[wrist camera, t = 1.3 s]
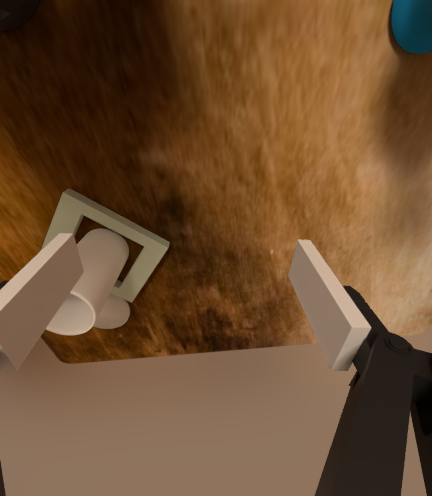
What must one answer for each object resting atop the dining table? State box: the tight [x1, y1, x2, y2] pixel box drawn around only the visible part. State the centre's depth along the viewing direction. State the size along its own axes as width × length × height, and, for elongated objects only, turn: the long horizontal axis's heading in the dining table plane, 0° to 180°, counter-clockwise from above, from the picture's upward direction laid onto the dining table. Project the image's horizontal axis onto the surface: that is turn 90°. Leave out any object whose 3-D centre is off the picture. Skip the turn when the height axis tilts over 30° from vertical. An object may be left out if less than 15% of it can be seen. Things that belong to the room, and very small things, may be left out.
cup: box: [46, 228, 129, 335], centre depth 39 cm, size 8×8×16 cm
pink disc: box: [93, 293, 130, 329], centre depth 52 cm, size 11×11×1 cm
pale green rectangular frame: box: [41, 188, 170, 302], centre depth 45 cm, size 18×15×2 cm
